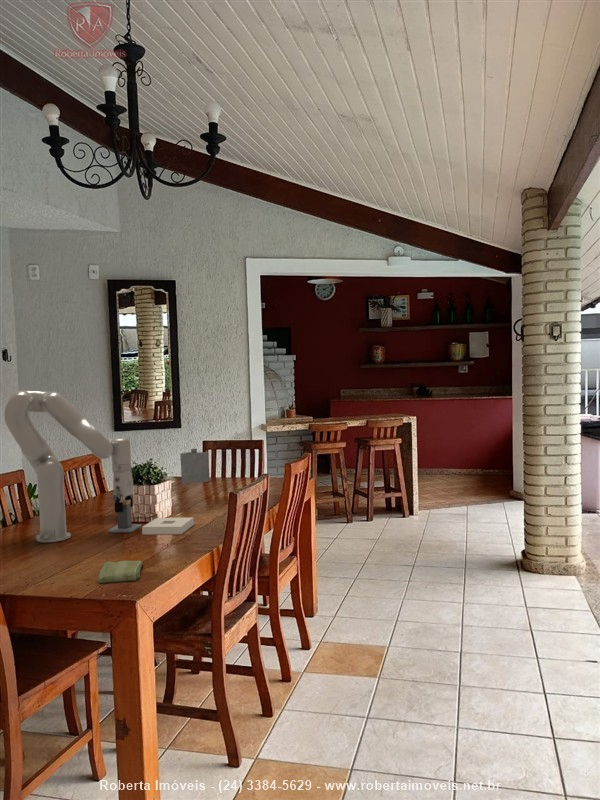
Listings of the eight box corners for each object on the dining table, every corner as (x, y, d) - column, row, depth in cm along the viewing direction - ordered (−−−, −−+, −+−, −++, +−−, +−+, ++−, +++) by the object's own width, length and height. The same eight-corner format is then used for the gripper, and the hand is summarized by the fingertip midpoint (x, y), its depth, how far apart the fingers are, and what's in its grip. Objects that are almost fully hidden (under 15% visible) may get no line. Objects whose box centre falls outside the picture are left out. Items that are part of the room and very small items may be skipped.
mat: (131, 532, 266) (131, 530, 266) (108, 532, 268) (108, 530, 268) (141, 526, 276) (141, 524, 276) (118, 526, 277) (118, 524, 277)
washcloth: (144, 565, 219) (143, 556, 219) (139, 582, 202) (138, 572, 202) (103, 569, 218) (102, 559, 217) (95, 586, 200) (94, 575, 200)
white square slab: (181, 534, 259) (181, 526, 259) (142, 534, 261) (142, 527, 261) (193, 524, 275) (193, 517, 275) (156, 524, 277) (156, 517, 277)
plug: (128, 528, 269) (126, 501, 269) (117, 528, 270) (116, 501, 269) (132, 525, 274) (130, 499, 273) (121, 526, 274) (120, 499, 274)
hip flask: (209, 482, 382) (208, 447, 382) (209, 483, 378) (207, 448, 378) (182, 483, 382) (180, 448, 381) (181, 484, 378) (179, 449, 377)
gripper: (121, 471, 262) (124, 514, 262) (138, 464, 279) (140, 505, 279) (103, 471, 263) (106, 514, 263) (121, 465, 280) (124, 505, 281)
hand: (124, 509), depth 271 cm, fingers open, 9 cm apart
